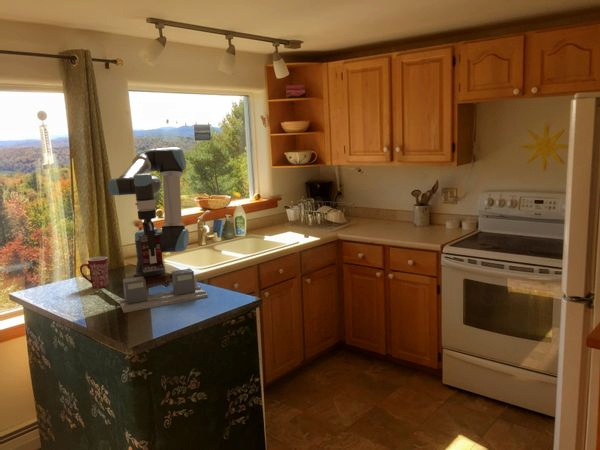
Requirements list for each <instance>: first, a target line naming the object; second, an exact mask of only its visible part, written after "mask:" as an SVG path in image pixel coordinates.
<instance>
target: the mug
mask: <svg viewBox="0 0 600 450" xmlns="http://www.w3.org/2000/svg"><path fill="white" fill-rule="evenodd" d="M86 261H87V263H83V264H81V265H80V267H79V271H80V274H81V276H83V278H84V280H85V279H86V280H87V282H88V283H90V284H91V287H92V288H94V289H99V288H100V289H101V288H106V287H108V286H109V272H108V270H109V268H108V267H109V266H108V257H107V256H95V257H90V258H88V259H87V260H86ZM83 267H87V269H88V270H89V274H90V279H89V278H88V277H86V275H85V274H84V273H83Z"/></svg>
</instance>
